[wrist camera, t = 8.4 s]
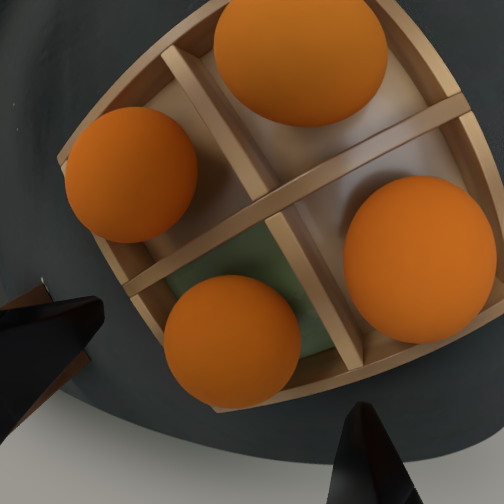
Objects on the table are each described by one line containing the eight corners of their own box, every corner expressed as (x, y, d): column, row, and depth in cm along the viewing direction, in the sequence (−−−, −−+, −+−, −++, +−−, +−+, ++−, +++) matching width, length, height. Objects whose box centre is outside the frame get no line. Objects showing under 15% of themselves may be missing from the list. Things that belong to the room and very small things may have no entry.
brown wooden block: (91, 360, 18) (6, 437, 9) (63, 370, 21) (-3, 428, 12) (43, 283, 17) (-55, 342, 8) (24, 308, 20) (-50, 356, 11)
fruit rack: (497, 272, 9) (525, 299, 6) (234, 379, 14) (216, 413, 12) (333, -23, 7) (328, -59, 4) (94, 153, 12) (56, 157, 10)
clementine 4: (473, 264, 8) (531, 327, 4) (372, 314, 10) (381, 401, 6) (431, 149, 8) (496, 148, 4) (319, 208, 10) (303, 249, 6)
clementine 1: (242, 186, 10) (174, 210, 6) (157, 243, 12) (81, 285, 8) (182, 90, 10) (97, 67, 5) (110, 158, 11) (28, 169, 7)
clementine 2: (326, 334, 11) (318, 421, 7) (234, 366, 13) (196, 440, 8) (269, 235, 10) (227, 288, 6) (178, 284, 12) (112, 342, 8)
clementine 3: (402, 97, 8) (447, 55, 3) (289, 158, 9) (249, 159, 5) (325, 0, 7) (309, -78, 3) (222, 59, 9) (150, 13, 5)
